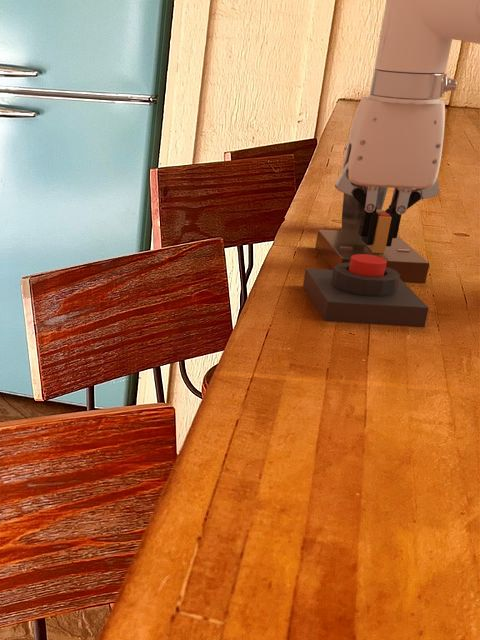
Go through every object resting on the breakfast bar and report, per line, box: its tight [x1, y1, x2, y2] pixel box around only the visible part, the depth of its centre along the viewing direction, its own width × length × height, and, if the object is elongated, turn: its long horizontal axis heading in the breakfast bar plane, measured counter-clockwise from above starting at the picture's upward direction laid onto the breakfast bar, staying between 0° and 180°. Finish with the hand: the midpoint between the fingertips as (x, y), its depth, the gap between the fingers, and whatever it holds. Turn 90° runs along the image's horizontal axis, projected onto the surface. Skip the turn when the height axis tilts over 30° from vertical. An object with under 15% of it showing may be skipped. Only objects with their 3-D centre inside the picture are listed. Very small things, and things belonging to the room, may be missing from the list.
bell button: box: [348, 254, 387, 277], centre depth 95 cm, size 4×4×2 cm
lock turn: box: [367, 209, 391, 254], centre depth 108 cm, size 4×1×5 cm, turn 170°
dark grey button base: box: [302, 262, 430, 328], centre depth 96 cm, size 10×12×4 cm
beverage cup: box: [340, 142, 389, 232], centre depth 124 cm, size 7×7×20 cm
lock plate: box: [314, 229, 431, 284], centre depth 112 cm, size 10×14×3 cm
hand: (376, 242), depth 109 cm, fingers closed
